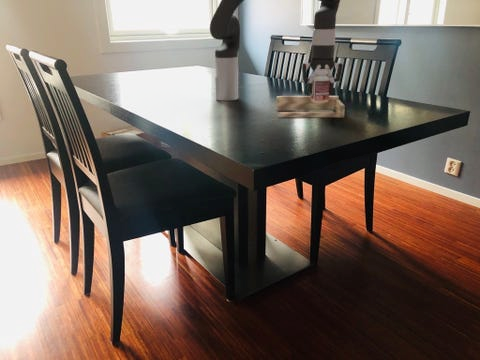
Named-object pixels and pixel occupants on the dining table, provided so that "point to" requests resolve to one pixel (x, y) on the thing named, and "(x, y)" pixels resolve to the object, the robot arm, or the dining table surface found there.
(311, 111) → the front slot
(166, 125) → the dining table surface
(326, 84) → the pill bottle
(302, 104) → the tray
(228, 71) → the robot arm
